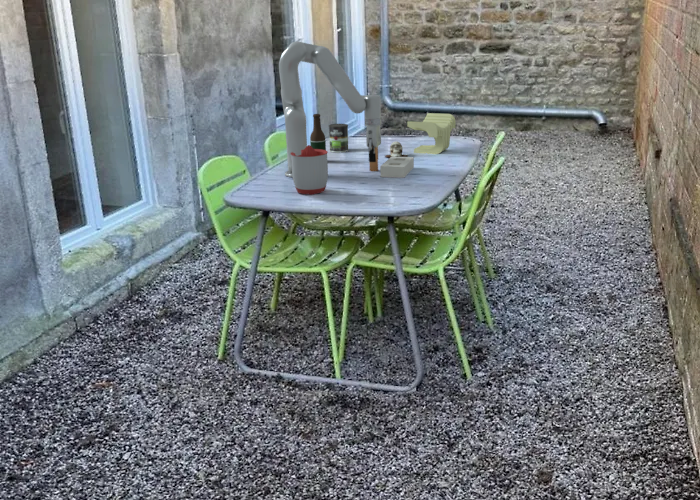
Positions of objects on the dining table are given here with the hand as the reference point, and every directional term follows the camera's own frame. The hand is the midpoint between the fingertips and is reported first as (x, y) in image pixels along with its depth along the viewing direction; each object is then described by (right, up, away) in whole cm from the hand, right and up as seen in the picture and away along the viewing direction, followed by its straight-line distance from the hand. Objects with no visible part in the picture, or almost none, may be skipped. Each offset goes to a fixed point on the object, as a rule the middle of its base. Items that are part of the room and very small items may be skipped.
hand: (373, 160), depth 341 cm
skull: (+13, +6, +32) cm, 35 cm away
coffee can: (-17, +11, +51) cm, 55 cm away
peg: (0, -5, +2) cm, 5 cm away
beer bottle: (-27, +2, +25) cm, 37 cm away
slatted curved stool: (+32, +10, +42) cm, 54 cm away
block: (+11, -6, -4) cm, 13 cm away
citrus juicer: (-28, -18, -34) cm, 47 cm away
